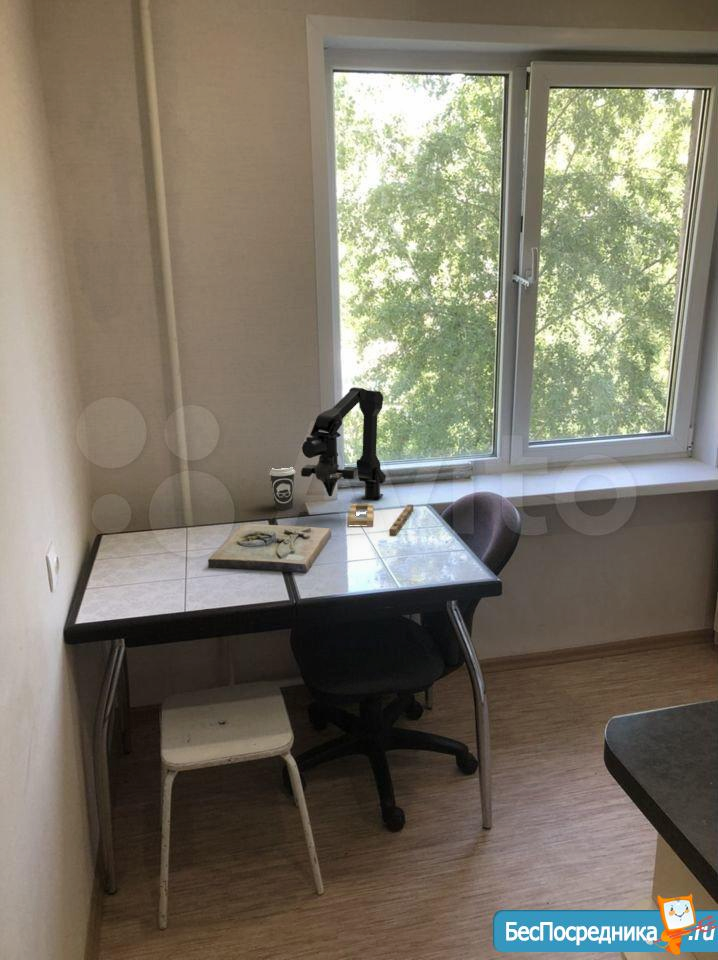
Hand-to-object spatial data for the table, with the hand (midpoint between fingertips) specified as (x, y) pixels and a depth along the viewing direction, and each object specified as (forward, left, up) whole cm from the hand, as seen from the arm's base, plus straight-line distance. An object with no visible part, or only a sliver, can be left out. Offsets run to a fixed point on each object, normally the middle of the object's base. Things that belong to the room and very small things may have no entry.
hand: (330, 496), depth 250 cm
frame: (0, +11, -7) cm, 13 cm away
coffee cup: (-5, -20, -7) cm, 21 cm away
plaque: (+36, -7, -8) cm, 37 cm away
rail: (+2, +25, -7) cm, 26 cm away
